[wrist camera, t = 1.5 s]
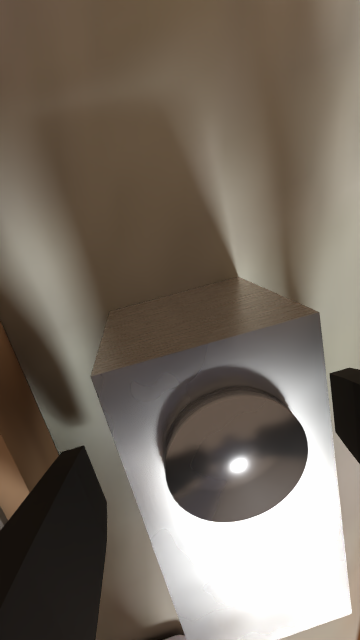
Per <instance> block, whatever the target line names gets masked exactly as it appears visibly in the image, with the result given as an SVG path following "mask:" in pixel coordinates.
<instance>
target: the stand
mask: <svg viewBox="0 0 360 640" xmlns="http://www.w3.org/2000/svg"><path fill="white" fill-rule="evenodd" d="M58 456H59V454H58V452H57V450H56V447H55V445H54V443H53V440H52V438H51V436H50V434H49V431H48V429H47V427H46V424H45V422H44V420H43V418H42V415H41V413H40V411H39V408H38V406H37V404H36V401H35V399H34V397H33V395H32V392H31V390H30V388H29V385H28V383H27V381H26V379H25V376H24V374H23V372H22V369H21V367H20V365H19V363H18V360H17V358H16V356H15V353H14V351H13V349H12V346H11V344H10V342H9V340H8V337H7V335H6V333H5V330H4V328H3V326H2V324H1V321H0V530H1V529H2V527H3V526H4V525H5V524H6V523H7V521H8V520H9V519H10V518H11V516H12V515H13V514H14V512H15V511H16V510H17V509H18V507H19V506H20V505H21V503H22V502H23V501H24V500H25V498H26V497H27V496H28V495H29V493H30V492H31V491H32V489H33V488H34V487H35V486H36V484H37V483H38V482H39V480H40V479H41V478H42V476H43V475H44V474H45V472H46V471H47V470H48V469H49V467H50V466H51V465H52V463H53V462H54V461H55V460H56V459H57V457H58Z"/></svg>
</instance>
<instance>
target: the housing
mask: <svg viewBox="0 0 360 640" xmlns="http://www.w3.org/2000/svg"><path fill="white" fill-rule="evenodd" d="M91 379H92V382H93V385H94V387H95V390H96V393H97V396H98V398H99V401H100V404H101V407H102V409H103V412H104V415H105V418H106V420H107V423H108V426H109V428H110V431H111V434H112V437H113V439H114V442H115V445H116V448H117V450H118V453H119V456H120V459H121V461H122V464H123V467H124V470H125V472H126V475H127V478H128V481H129V483H130V486H131V489H132V491H133V494H134V497H135V500H136V502H137V505H138V508H139V511H140V513H141V516H142V519H143V522H144V524H145V527H146V530H147V533H148V535H149V538H150V541H151V544H152V546H153V549H154V552H155V554H156V557H157V560H158V563H159V565H160V568H161V571H162V574H163V576H164V579H165V582H166V585H167V587H168V590H169V593H170V596H171V598H172V601H173V604H174V607H175V609H176V612H177V615H178V617H179V620H180V623H181V626H182V628H183V631H184V634H185V637H186V639H187V640H278V639H281V638H284V637H287V636H289V635H292V634H295V633H298V632H301V631H304V630H307V629H309V628H312V627H315V626H318V625H321V624H324V623H326V622H329V621H332V620H335V619H338V618H341V617H343V616H346V615H349V614H352V611H351V602H350V592H349V583H348V574H347V565H346V555H345V546H344V537H343V527H342V518H341V509H340V500H339V490H338V481H337V472H336V462H335V453H334V444H333V435H332V425H331V416H330V407H329V398H328V388H327V379H326V370H325V360H324V351H323V342H322V333H321V323H320V314H319V312H318V311H315V310H313V309H311V308H309V307H306V306H304V305H302V304H299V303H297V302H295V301H293V300H290V299H288V298H286V297H284V296H281V295H279V294H277V293H274V292H272V291H270V290H268V289H265V288H263V287H261V286H258V285H256V284H254V283H252V282H249V281H247V280H245V279H242V278H240V277H236V278H232V279H228V280H225V281H221V282H217V283H213V284H210V285H206V286H202V287H198V288H195V289H191V290H187V291H183V292H180V293H176V294H172V295H168V296H165V297H161V298H157V299H154V300H150V301H146V302H142V303H139V304H135V305H131V306H127V307H124V308H120V309H116V310H112V311H110V313H109V316H108V319H107V323H106V326H105V330H104V333H103V336H102V340H101V343H100V346H99V350H98V353H97V356H96V360H95V363H94V367H93V370H92V373H91Z"/></svg>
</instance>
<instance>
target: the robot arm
mask: <svg viewBox="0 0 360 640" xmlns="http://www.w3.org/2000/svg"><path fill="white" fill-rule="evenodd" d="M330 382H331V392H332V402H333V412H334V422H335V431H336V433H337V435H338V436H339V437H340V439H341V440H342V441H343V443H344V444H345V446H346V447H347V448H348V450H349V451H350V452H351V453H352V455H353V456H354V457H355V458H356V460H357V461H358V462H359V463H360V370H358V369H353V368H347V369H343V370H340V371H337V372H333V373H330ZM106 543H107V502H106V499H105V497H104V494H103V492H102V489H101V487H100V484H99V482H98V479H97V477H96V474H95V472H94V469H93V467H92V464H91V462H90V459H89V457H88V454H87V452H86V450H85V447H84V446H81V447H77V448H74V449H71V450H67V451H64V452H62V453H61V454H60V455H59V456H58V457H57V459H56V460H55V461H54V462H53V463H52V465H51V466H50V467H49V469H48V470H47V471H46V472H45V474H44V475H43V476H42V478H41V479H40V480H39V482H38V483H37V484H36V486H35V487H34V488H33V489H32V491H31V492H30V493H29V495H28V496H27V497H26V498H25V500H24V501H23V502H22V503H21V505H20V506H19V507H18V509H17V510H16V511H15V512H14V514H13V515H12V516H11V518H10V519H9V520H8V521H7V523H6V524H5V525H4V526H3V527H2V529H1V530H0V640H95V638H96V630H97V621H98V613H99V604H100V596H101V588H102V579H103V570H104V562H105V553H106ZM164 640H187V639H186V637H185V636H184V635H176V636H173V637H170V638H167V639H164Z"/></svg>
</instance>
